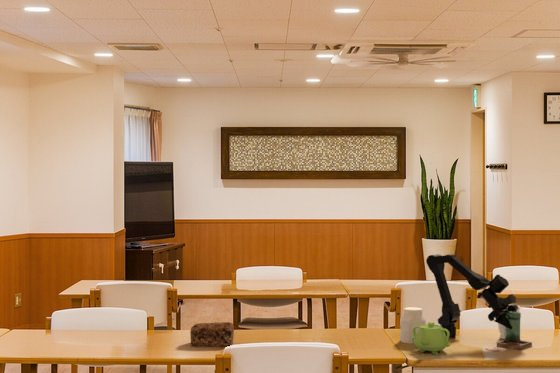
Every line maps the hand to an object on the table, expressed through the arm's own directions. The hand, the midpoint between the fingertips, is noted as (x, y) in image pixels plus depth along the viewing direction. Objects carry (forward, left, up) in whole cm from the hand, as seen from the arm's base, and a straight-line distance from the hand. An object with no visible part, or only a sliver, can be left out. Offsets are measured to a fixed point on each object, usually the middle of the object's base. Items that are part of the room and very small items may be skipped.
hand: (515, 327), depth 358 cm
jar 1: (-43, +12, -9) cm, 46 cm away
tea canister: (-1, +1, -6) cm, 6 cm away
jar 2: (+3, +20, -9) cm, 22 cm away
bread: (-135, +4, -9) cm, 135 cm away
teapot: (-39, -10, -9) cm, 42 cm away
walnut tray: (0, 0, -9) cm, 9 cm away
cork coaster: (-10, -7, -9) cm, 15 cm away
